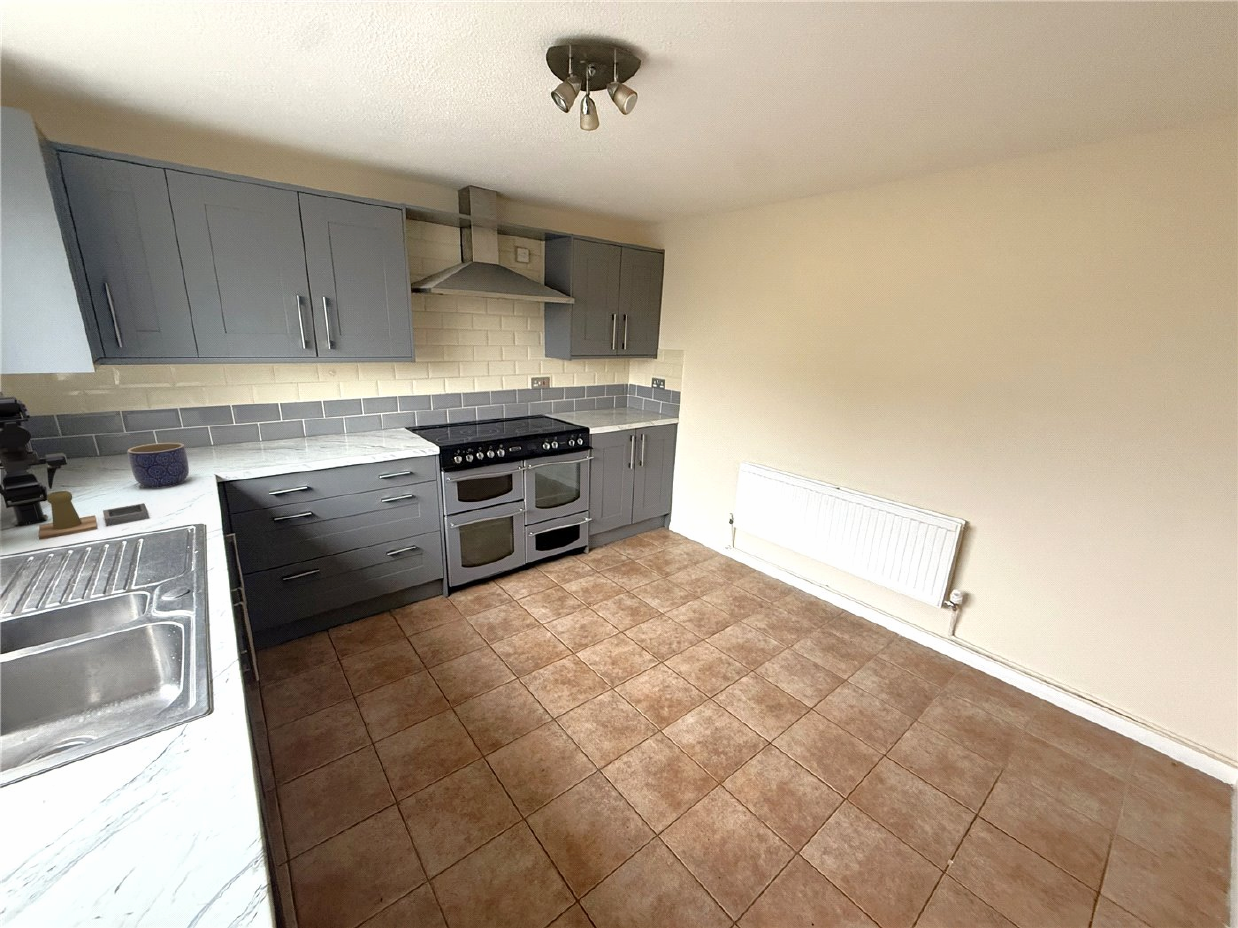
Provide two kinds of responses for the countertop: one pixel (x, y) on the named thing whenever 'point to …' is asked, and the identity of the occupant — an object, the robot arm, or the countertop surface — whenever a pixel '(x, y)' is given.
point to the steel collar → (125, 514)
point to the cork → (63, 510)
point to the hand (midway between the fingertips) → (27, 491)
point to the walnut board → (50, 532)
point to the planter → (159, 464)
